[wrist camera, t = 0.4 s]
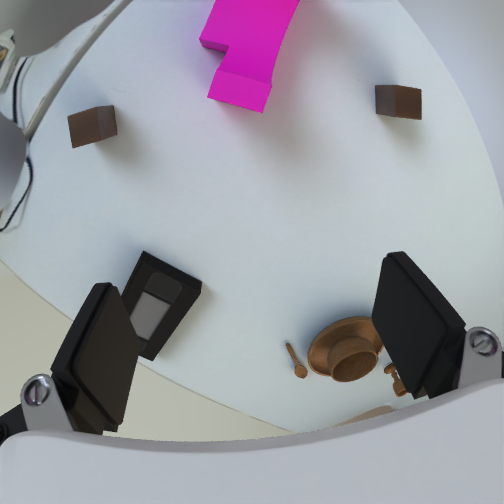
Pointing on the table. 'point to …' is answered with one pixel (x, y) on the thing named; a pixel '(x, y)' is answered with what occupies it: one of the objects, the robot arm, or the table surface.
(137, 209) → the table surface
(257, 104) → the toy block
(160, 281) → the vhs tape
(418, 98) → the brown cubes
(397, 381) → the place setting
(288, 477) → the robot arm
